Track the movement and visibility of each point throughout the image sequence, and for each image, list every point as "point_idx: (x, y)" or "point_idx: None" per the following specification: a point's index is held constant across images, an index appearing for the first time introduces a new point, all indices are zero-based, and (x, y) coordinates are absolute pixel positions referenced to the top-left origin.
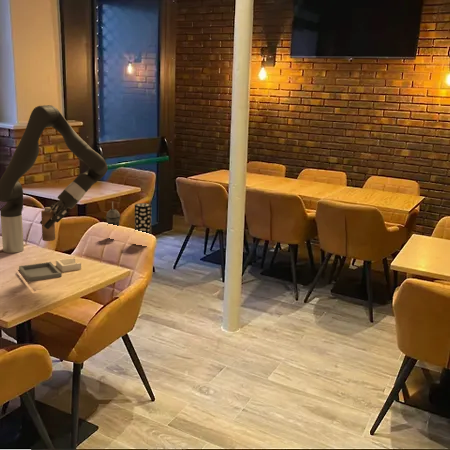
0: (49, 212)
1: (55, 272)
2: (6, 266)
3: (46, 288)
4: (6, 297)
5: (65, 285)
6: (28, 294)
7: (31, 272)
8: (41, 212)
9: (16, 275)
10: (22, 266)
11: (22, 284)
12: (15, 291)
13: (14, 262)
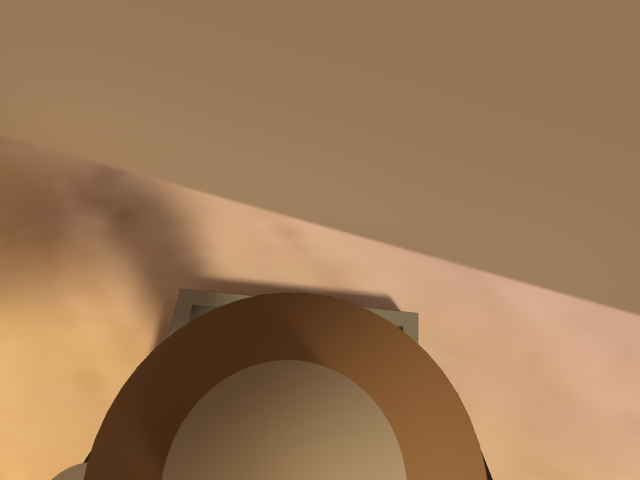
0: (90, 465)
1: None
2: (537, 296)
3: (56, 356)
4: (90, 168)
5: (13, 477)
6: (49, 252)
7: None
8: (310, 302)
9: (358, 293)
10: (403, 329)
11: (203, 274)
12: (133, 218)
13: (600, 357)
